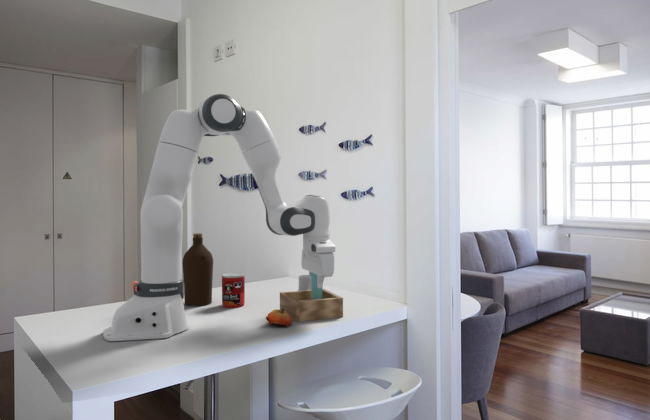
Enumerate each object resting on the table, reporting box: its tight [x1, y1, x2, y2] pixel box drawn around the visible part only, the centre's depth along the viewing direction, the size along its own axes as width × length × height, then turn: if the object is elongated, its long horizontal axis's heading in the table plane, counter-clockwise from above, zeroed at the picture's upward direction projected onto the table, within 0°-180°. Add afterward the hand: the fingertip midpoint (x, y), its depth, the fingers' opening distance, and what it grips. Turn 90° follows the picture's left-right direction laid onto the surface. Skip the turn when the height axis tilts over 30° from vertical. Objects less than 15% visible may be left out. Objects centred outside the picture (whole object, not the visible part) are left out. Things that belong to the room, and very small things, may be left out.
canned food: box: [221, 272, 246, 309], centre depth 164 cm, size 8×8×11 cm
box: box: [279, 288, 344, 323], centre depth 153 cm, size 16×16×6 cm
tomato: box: [265, 308, 293, 327], centre depth 140 cm, size 8×7×7 cm
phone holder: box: [297, 274, 324, 291], centre depth 183 cm, size 17×10×18 cm, turn 14°
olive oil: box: [182, 232, 214, 307], centre depth 167 cm, size 11×11×25 cm
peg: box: [311, 272, 322, 300], centre depth 154 cm, size 4×4×12 cm
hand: (316, 286), depth 154 cm, fingers closed on peg, 4 cm apart
